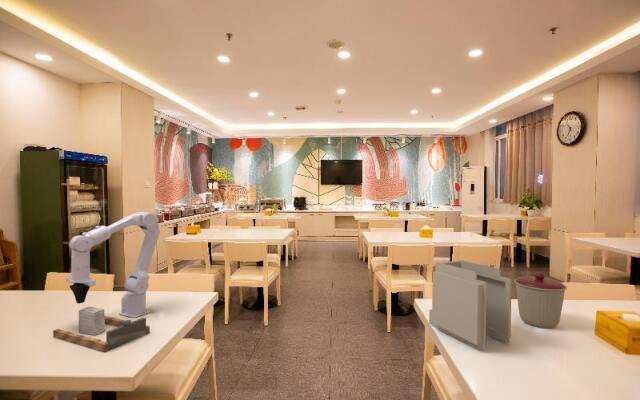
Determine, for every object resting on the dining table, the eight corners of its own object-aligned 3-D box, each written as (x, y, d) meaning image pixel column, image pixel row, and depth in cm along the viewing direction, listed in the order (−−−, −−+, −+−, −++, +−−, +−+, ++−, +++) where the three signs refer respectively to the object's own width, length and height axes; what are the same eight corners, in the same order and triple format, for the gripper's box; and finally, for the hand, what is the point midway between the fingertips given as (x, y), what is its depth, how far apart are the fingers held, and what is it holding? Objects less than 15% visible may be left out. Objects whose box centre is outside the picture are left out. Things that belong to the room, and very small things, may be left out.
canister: (560, 319, 141) (561, 270, 141) (571, 335, 125) (572, 279, 124) (511, 312, 149) (512, 265, 148) (515, 327, 132) (516, 274, 132)
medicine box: (105, 331, 125) (105, 308, 125) (93, 336, 121) (93, 312, 121) (90, 328, 128) (90, 306, 127) (78, 333, 123) (78, 309, 123)
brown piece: (53, 337, 120) (53, 317, 119) (100, 320, 135) (100, 303, 135) (105, 352, 108) (105, 330, 108) (150, 332, 124) (150, 313, 124)
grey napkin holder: (454, 318, 141) (455, 257, 141) (514, 344, 117) (515, 270, 116) (423, 325, 134) (423, 260, 133) (479, 354, 110) (480, 275, 109)
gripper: (57, 267, 126) (57, 303, 126) (81, 271, 120) (81, 308, 121) (77, 264, 133) (77, 297, 133) (101, 267, 127) (101, 302, 127)
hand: (80, 302), depth 127 cm, fingers closed
